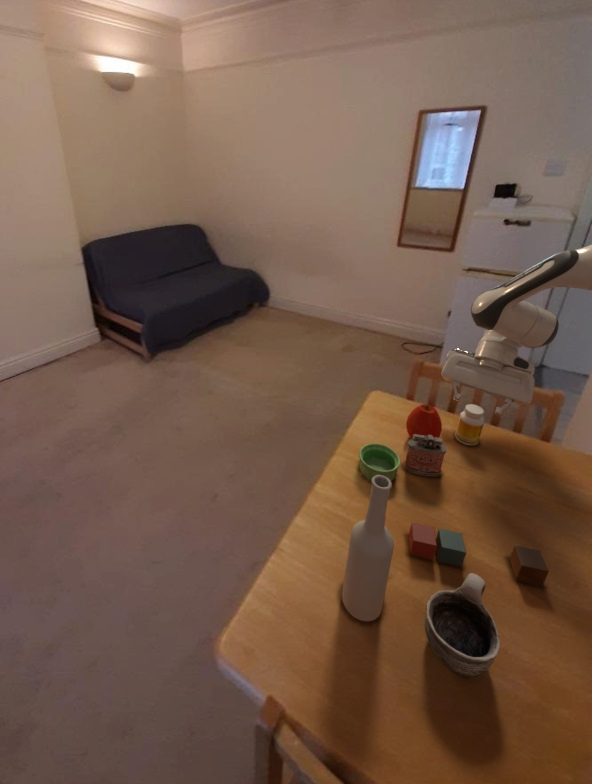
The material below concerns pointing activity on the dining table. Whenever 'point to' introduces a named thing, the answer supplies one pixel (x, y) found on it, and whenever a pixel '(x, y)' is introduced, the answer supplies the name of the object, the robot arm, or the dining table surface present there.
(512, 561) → the brown block
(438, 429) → the apple
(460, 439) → the supplement bottle
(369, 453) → the ramekin
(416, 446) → the lighter
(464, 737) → the dining table surface
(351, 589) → the bottle
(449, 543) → the block
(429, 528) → the red cube
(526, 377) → the robot arm
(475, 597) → the mug
